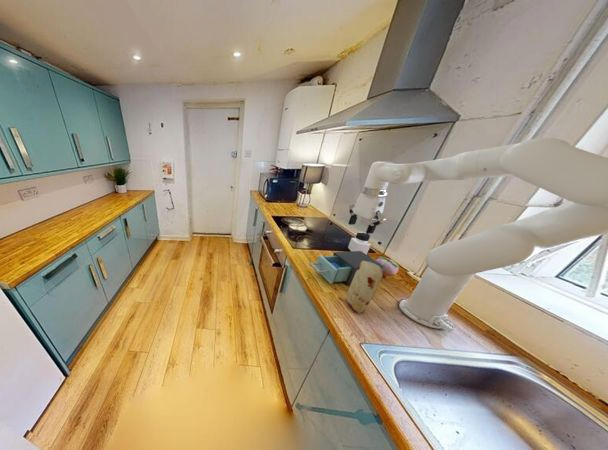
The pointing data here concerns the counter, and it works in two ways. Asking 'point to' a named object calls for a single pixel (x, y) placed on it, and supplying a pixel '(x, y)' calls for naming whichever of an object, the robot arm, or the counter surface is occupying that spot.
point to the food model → (363, 285)
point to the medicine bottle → (360, 243)
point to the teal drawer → (332, 268)
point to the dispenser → (354, 261)
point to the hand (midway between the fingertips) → (360, 228)
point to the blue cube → (335, 265)
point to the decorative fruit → (388, 266)
